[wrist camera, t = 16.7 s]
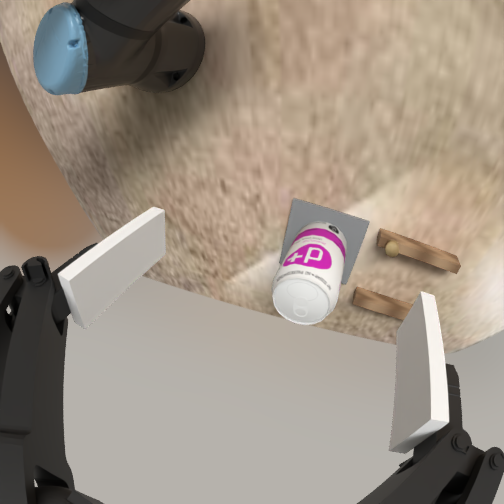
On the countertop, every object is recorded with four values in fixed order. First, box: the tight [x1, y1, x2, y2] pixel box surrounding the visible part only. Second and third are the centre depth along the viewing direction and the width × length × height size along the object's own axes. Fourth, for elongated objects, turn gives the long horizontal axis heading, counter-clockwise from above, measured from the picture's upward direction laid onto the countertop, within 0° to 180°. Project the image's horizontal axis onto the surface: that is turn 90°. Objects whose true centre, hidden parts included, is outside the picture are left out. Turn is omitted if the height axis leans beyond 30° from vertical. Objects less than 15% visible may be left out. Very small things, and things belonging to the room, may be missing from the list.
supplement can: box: [271, 221, 347, 325], centre depth 40 cm, size 8×8×15 cm
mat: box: [279, 198, 369, 284], centre depth 46 cm, size 12×12×1 cm
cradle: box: [353, 228, 461, 320], centre depth 42 cm, size 14×13×4 cm
